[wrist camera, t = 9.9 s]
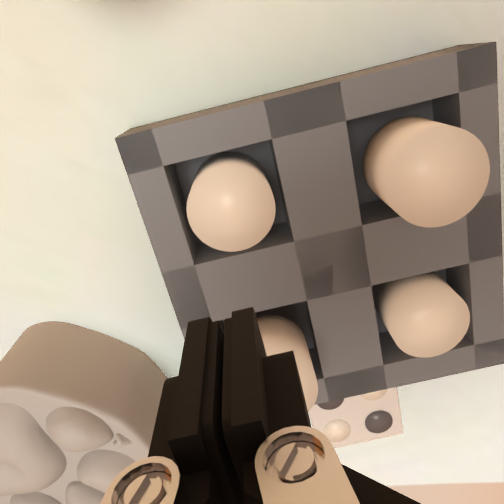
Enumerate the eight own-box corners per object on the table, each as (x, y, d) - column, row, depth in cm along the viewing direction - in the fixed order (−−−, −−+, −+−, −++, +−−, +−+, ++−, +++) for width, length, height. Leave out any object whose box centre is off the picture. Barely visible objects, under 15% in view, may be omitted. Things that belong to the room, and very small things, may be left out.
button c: (259, 143, 28) (264, 156, 24) (276, 216, 30) (283, 240, 25) (183, 162, 28) (175, 178, 24) (204, 233, 30) (200, 260, 26)
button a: (445, 106, 24) (488, 114, 20) (451, 191, 26) (491, 214, 22) (356, 128, 25) (381, 140, 21) (368, 211, 26) (393, 237, 22)
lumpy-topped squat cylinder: (32, 305, 32) (-34, 385, 24) (202, 372, 35) (193, 464, 27) (-10, 412, 35) (-80, 514, 27) (148, 465, 38) (126, 573, 30)
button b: (436, 253, 31) (467, 281, 27) (442, 313, 33) (471, 348, 29) (366, 269, 31) (387, 299, 27) (376, 327, 33) (396, 364, 29)
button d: (298, 307, 29) (309, 347, 25) (312, 369, 30) (324, 416, 26) (224, 324, 29) (223, 367, 25) (242, 384, 31) (244, 433, 27)
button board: (459, 45, 27) (496, 41, 23) (475, 330, 34) (505, 363, 30) (130, 128, 28) (114, 138, 24) (216, 388, 35) (214, 426, 31)
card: (391, 360, 35) (393, 365, 34) (401, 429, 38) (403, 434, 37) (301, 380, 35) (302, 385, 35) (317, 447, 38) (319, 452, 37)
